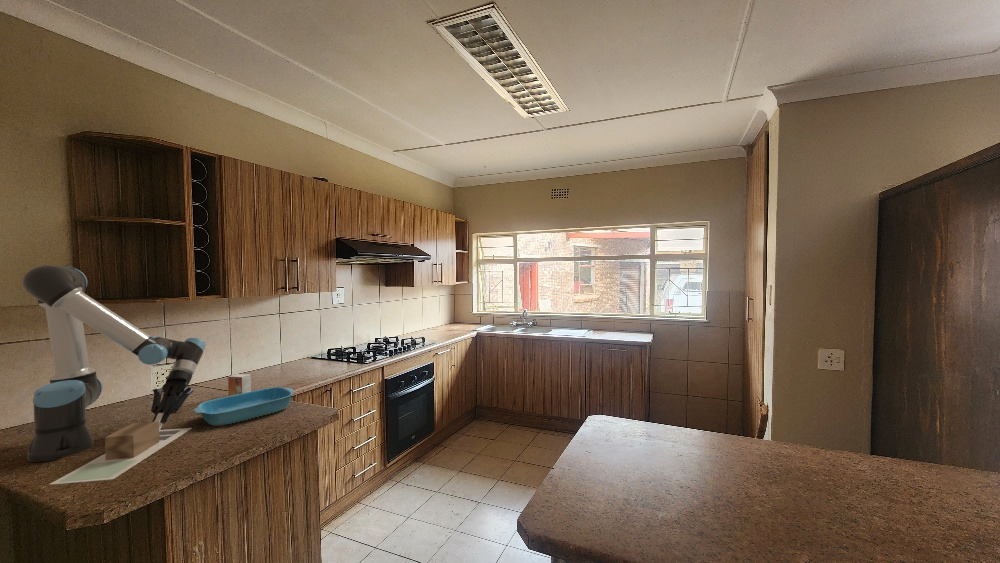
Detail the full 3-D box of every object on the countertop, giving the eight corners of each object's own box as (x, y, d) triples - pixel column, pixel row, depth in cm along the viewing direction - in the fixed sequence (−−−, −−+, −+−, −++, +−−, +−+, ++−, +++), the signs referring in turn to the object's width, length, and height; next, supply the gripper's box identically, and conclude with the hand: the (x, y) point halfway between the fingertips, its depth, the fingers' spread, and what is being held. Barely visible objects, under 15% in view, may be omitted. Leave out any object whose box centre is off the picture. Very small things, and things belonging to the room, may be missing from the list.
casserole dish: (201, 434, 146) (201, 416, 146) (188, 420, 161) (188, 403, 161) (302, 408, 174) (301, 393, 174) (283, 398, 189) (283, 383, 188)
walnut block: (105, 460, 125) (105, 437, 125) (133, 443, 137) (133, 423, 136) (133, 457, 126) (133, 435, 126) (159, 442, 138) (158, 421, 138)
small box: (228, 397, 189) (227, 376, 189) (237, 394, 195) (237, 373, 195) (242, 398, 188) (241, 377, 188) (251, 394, 194) (250, 374, 193)
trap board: (48, 486, 110) (48, 484, 110) (146, 432, 148) (146, 430, 148) (113, 481, 113) (112, 479, 113) (192, 429, 151) (192, 427, 150)
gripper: (203, 377, 159) (179, 434, 143) (167, 378, 156) (139, 437, 141) (195, 368, 153) (169, 426, 138) (158, 369, 151) (127, 429, 135)
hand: (154, 431), depth 139 cm, fingers closed
